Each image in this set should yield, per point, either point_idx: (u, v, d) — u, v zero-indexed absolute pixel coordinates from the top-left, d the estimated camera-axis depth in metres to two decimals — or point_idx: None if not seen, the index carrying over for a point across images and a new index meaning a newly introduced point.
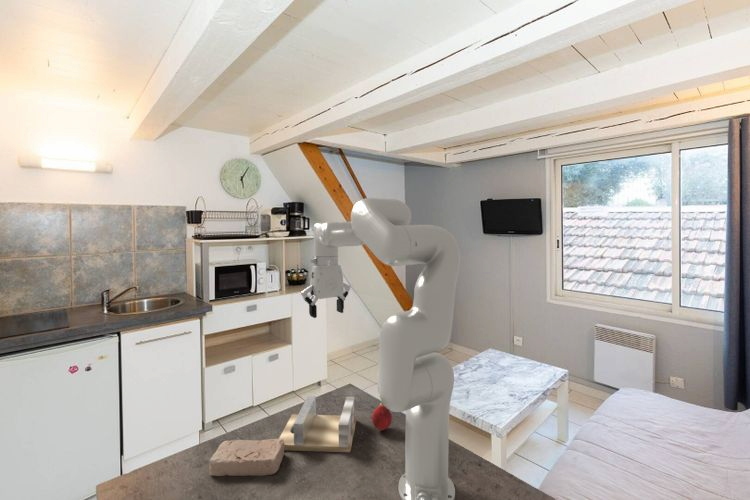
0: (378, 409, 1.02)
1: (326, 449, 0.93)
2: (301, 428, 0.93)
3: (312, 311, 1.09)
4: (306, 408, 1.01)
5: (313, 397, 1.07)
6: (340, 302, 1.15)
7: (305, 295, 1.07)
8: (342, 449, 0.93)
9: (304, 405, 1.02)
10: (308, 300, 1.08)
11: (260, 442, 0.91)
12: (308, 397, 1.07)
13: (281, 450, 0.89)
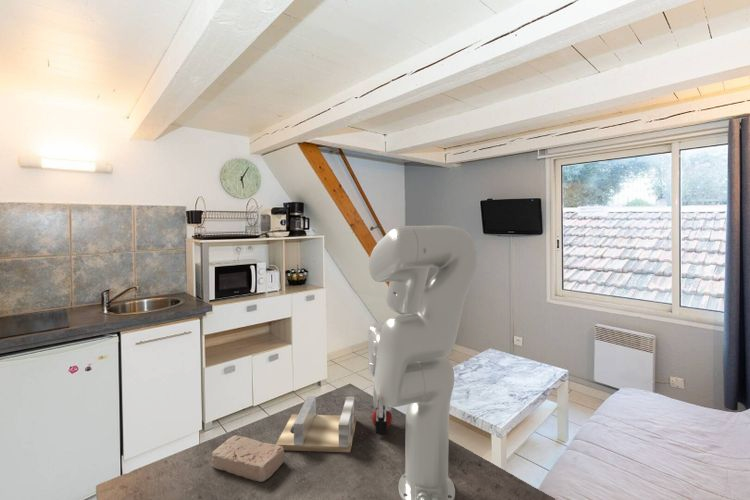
0: None
1: (326, 449, 0.93)
2: (301, 428, 0.93)
3: (384, 428, 0.99)
4: (306, 408, 1.01)
5: (313, 397, 1.07)
6: None
7: (383, 415, 0.96)
8: (342, 449, 0.93)
9: (304, 405, 1.02)
10: (384, 418, 0.97)
11: (262, 445, 0.90)
12: (308, 397, 1.07)
13: (276, 458, 0.86)
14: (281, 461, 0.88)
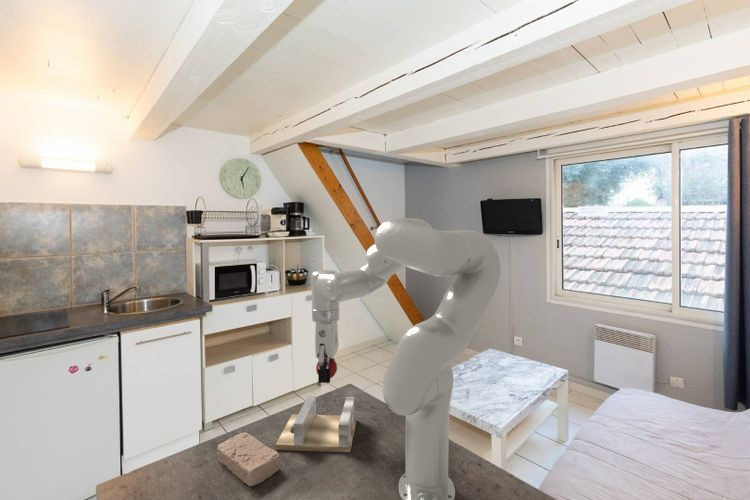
0: None
1: (326, 449, 0.93)
2: (301, 428, 0.93)
3: (326, 376, 0.95)
4: (306, 408, 1.01)
5: (313, 397, 1.07)
6: None
7: (323, 361, 0.93)
8: (342, 449, 0.93)
9: (304, 405, 1.02)
10: (325, 365, 0.94)
11: (262, 447, 0.89)
12: (308, 397, 1.07)
13: (268, 465, 0.84)
14: (275, 469, 0.85)
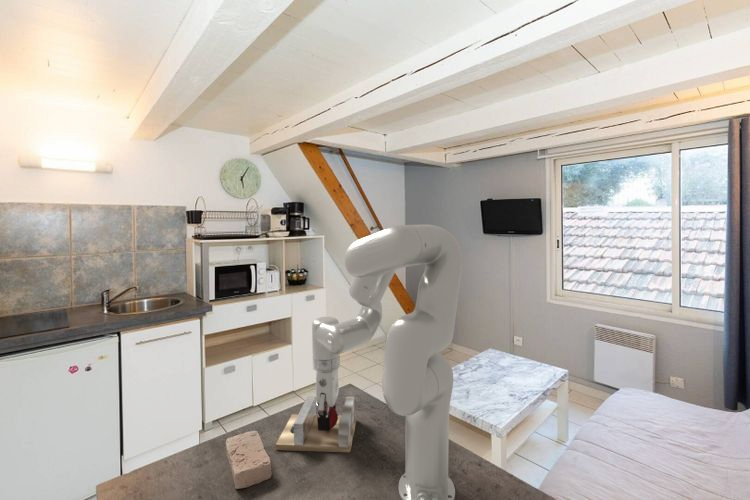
0: None
1: (326, 449, 0.93)
2: (301, 428, 0.93)
3: (326, 424, 0.95)
4: (306, 408, 1.01)
5: (313, 397, 1.07)
6: None
7: (323, 410, 0.93)
8: (342, 449, 0.93)
9: (304, 405, 1.02)
10: (325, 414, 0.94)
11: (261, 451, 0.88)
12: (308, 397, 1.07)
13: (257, 471, 0.82)
14: (265, 476, 0.83)
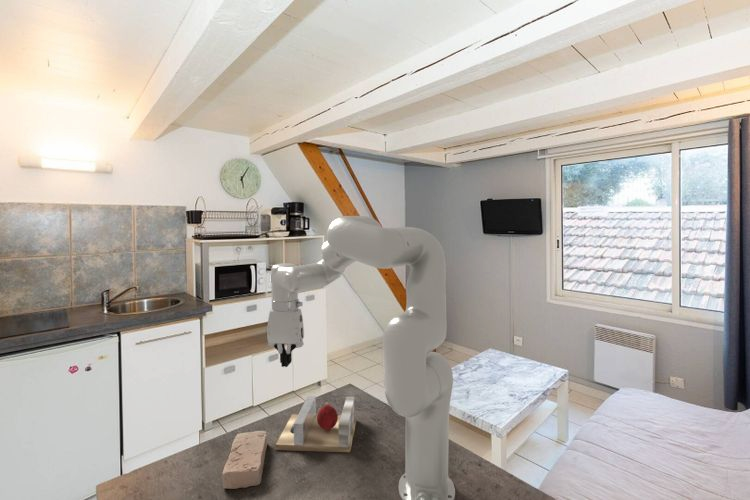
0: (323, 408, 0.99)
1: (326, 449, 0.93)
2: (301, 428, 0.93)
3: None
4: (306, 408, 1.01)
5: (313, 397, 1.07)
6: None
7: None
8: (342, 449, 0.93)
9: (304, 405, 1.02)
10: None
11: (258, 454, 0.87)
12: (308, 397, 1.07)
13: (244, 475, 0.80)
14: (253, 482, 0.81)
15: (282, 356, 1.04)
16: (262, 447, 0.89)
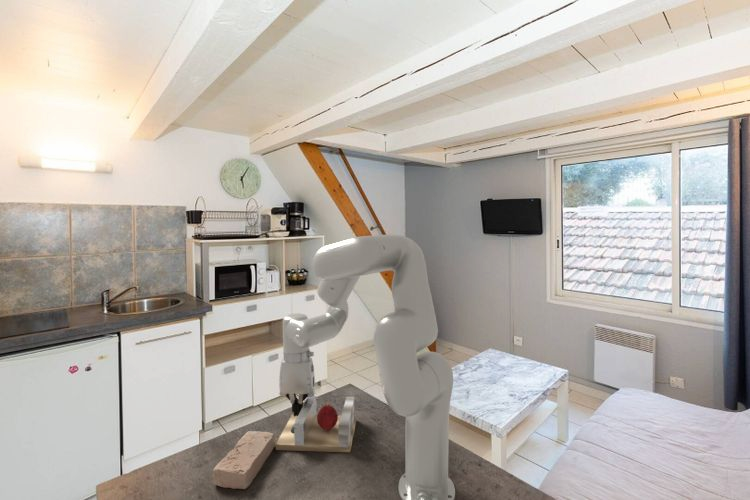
0: (323, 408, 0.99)
1: (326, 449, 0.93)
2: (301, 428, 0.93)
3: None
4: (307, 408, 1.01)
5: (313, 397, 1.07)
6: (297, 401, 1.08)
7: None
8: (342, 449, 0.93)
9: (304, 405, 1.02)
10: None
11: (253, 457, 0.86)
12: (308, 397, 1.07)
13: (231, 476, 0.80)
14: (239, 485, 0.80)
15: (294, 406, 1.05)
16: (261, 450, 0.88)
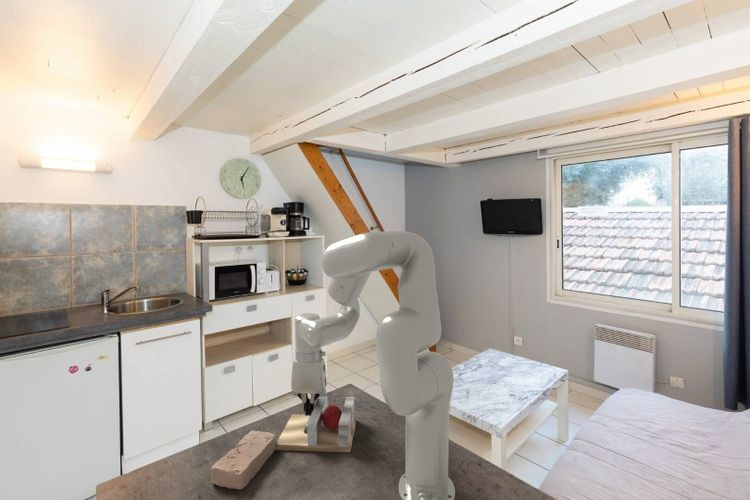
0: (328, 408, 0.99)
1: (326, 449, 0.93)
2: (315, 428, 0.93)
3: None
4: (319, 408, 1.01)
5: (325, 397, 1.07)
6: None
7: None
8: (342, 449, 0.93)
9: (316, 405, 1.02)
10: None
11: (252, 457, 0.85)
12: (320, 397, 1.07)
13: (227, 475, 0.80)
14: (235, 485, 0.80)
15: (306, 405, 1.05)
16: (260, 451, 0.88)
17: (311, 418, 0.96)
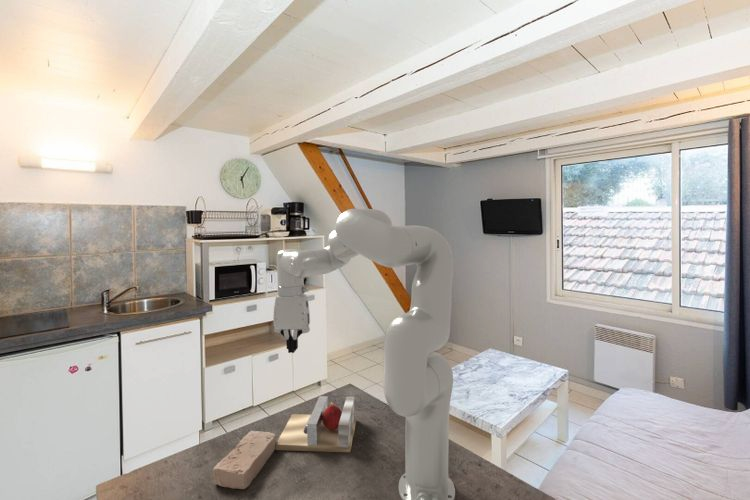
0: (328, 409, 0.99)
1: (326, 449, 0.93)
2: (315, 428, 0.93)
3: None
4: (319, 408, 1.01)
5: (325, 397, 1.07)
6: None
7: None
8: (342, 449, 0.93)
9: (316, 405, 1.02)
10: None
11: (253, 457, 0.86)
12: (320, 397, 1.07)
13: (230, 476, 0.80)
14: (238, 485, 0.80)
15: (289, 342, 1.04)
16: (262, 450, 0.88)
17: (311, 418, 0.96)
